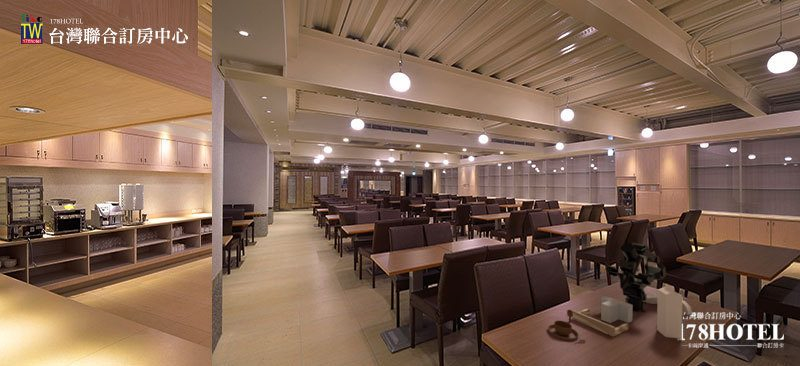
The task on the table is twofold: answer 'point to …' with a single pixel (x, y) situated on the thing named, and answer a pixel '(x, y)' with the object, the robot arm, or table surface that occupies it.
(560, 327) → the brown cup and saucer
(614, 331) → the birch bay
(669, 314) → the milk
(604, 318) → the t block
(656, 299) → the spoon rest
